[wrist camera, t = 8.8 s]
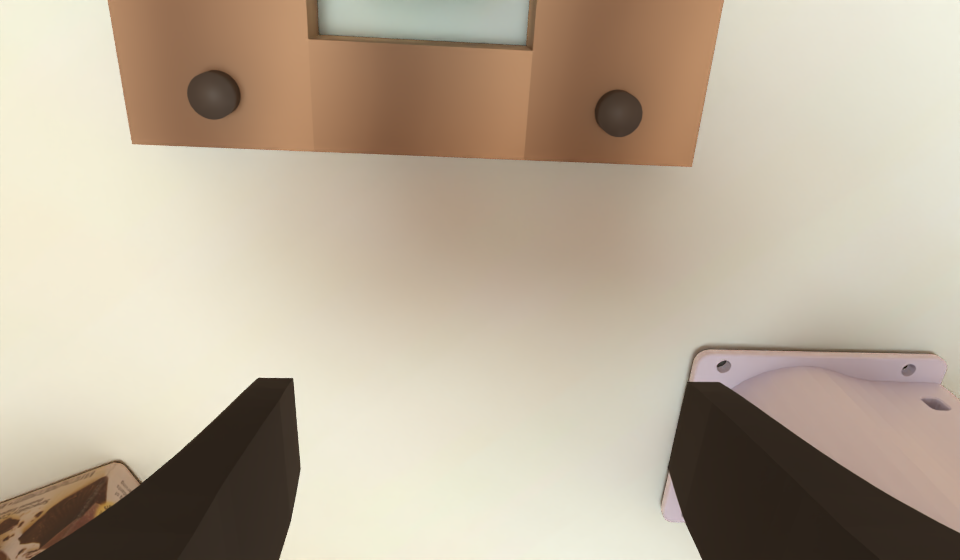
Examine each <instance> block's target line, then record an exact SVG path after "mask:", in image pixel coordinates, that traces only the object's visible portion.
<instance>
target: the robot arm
mask: <svg viewBox="0 0 960 560" xmlns="http://www.w3.org/2000/svg"><path fill="white" fill-rule="evenodd" d="M725 360H726V361H727V362H726V363H725V365H723V366H721V367H717V365H718V363H720V362H721V361H725ZM906 365H908V366H907V368H905V369H904V370H902V369H903V368H904V367H905V366H906ZM946 370H947V363H946V362H945V361H944V360H943V359H942V358H940V357H939V356H938V355H934V354H900V353H852V352H805V351H758V350H710V349H709V350H704V351H702V352H700V353H699V354H698V355H697V356H696V357H695V359H694V361H693V366H692V370H691V375H690V379H689V382H687V386H686V391H685V395H684V399H683V404H682V408H681V413H680V417H679V421H678V426H677V430H676V435H675V439H674V443H673V448H672V452H671V457H670V461H669V465H668V470H669V473H668V478H667V482H666V487H665V491H664V496H663V500H662V505H661V512H662V514H663V517H664V518H665V520H667V521H669V522H685V523H686V525H687V527H688V529H689V532H690V534H691V536H692V538H693V540H694V542H695V545H696V547H697V549H698V551H699V553H700V556H701V558H702V560H960V400H959V399H958V398H957V397H956V396H955V395H953V394H952V393H951V392H950V391H948V390H947V389H946V388H945V387H943V386H942V385H941V382H942V380H943V377H944V375H945V373H946ZM300 469H301V468H300V456H299V444H298V432H297V419H296V407H295V395H294V383H293V378H258V379H256V380H255V381H254V382H253V383H252V384H251V385H250V386H249V387H248V388H247V389H246V390H244V391H243V392H242V393H241V394H240V395H239V396H238V397H237V398H236V399H235V400H234V401H233V402H232V403H231V404H230V405H229V406H228V407H227V408H226V409H225V410H224V411H223V412H222V413H221V414H220V415H219V416H218V417H217V418H216V419H214V420H213V421H212V422H211V423H210V424H209V425H208V426H207V427H206V428H205V429H204V430H203V431H202V432H201V433H199V434H198V435H197V436H196V437H195V438H194V439H193V440H192V441H191V442H190V443H188V444H187V445H186V446H185V447H184V448H183V449H182V450H181V451H180V452H179V453H177V454H176V455H175V456H174V457H173V458H172V459H170V460H169V461H168V462H167V463H166V464H164V465H163V466H162V467H161V468H160V469H158V470H157V471H156V472H155V473H154V474H152V475H151V476H150V477H149V478H148V479H146V480H145V481H144V482H143V483H142V484H140V485H139V486H138V487H136V488H135V489H134V490H132V491H131V492H130V493H129V494H127V495H126V496H124V497H123V498H122V499H120V500H119V501H118V502H116V503H115V504H114V505H112V506H111V507H109V508H108V509H107V510H105V511H104V512H102V513H101V514H99V515H98V516H96V517H95V518H94V519H92V520H91V521H89V522H88V523H86V524H85V525H84V526H82V527H81V528H79V529H77V530H76V531H74V532H73V533H71V534H70V535H68V536H67V537H65V538H63V539H62V540H60V541H58V542H57V543H55V544H54V545H52V546H50V547H49V548H47V549H45V550H44V551H42V552H40V553H39V554H37V555H36V556H34V557H32V558H31V559H29V560H279V558H280V554H281V551H282V548H283V545H284V542H285V538H286V535H287V532H288V529H289V525H290V522H291V518H292V513H293V507H294V502H295V497H296V492H297V486H298V480H299V475H300Z"/></svg>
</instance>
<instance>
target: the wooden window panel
mask: <svg viewBox="0 0 960 560" xmlns="http://www.w3.org/2000/svg"><path fill="white" fill-rule="evenodd" d="M723 2H724V0H530V2H529V15H528V27H527V40H526V46H523V45H504V44H485V43H465V42H446V41H427V40H408V39H389V38H370V37H351V36H332V35H319V29H318V8H317V0H108V5H109V11H110V17H111V22H112V28H113V34H114V40H115V46H116V52H117V58H118V63H119V69H120V75H121V81H122V87H123V93H124V99H125V105H126V110H127V116H128V122H129V128H130V134H131V140H132V144H142V145H167V146H191V147H216V148H240V149H265V150H290V151H314V152H339V153H364V154H388V155H413V156H438V157H462V158H487V159H512V160H536V161H561V162H586V163H610V164H635V165H659V166H684V167H692V163H693V158H694V152H695V147H696V142H697V137H698V132H699V127H700V121H701V116H702V111H703V106H704V101H705V95H706V90H707V85H708V80H709V75H710V69H711V64H712V59H713V54H714V49H715V44H716V38H717V33H718V28H719V23H720V18H721V12H722V7H723Z"/></svg>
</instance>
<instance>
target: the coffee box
mask: <svg viewBox="0 0 960 560" xmlns="http://www.w3.org/2000/svg"><path fill="white" fill-rule="evenodd" d="M139 485H140V484H139V483H138V481H137V480H136V479H135V478H134V476H133V475H132V474H131V473H130V471H129V470H128V469H127V468H126V466H125V465H123V464H121V463H116V462H113V463H111V464H108V465H105V466H102V467H99V468H96V469H93V470H91V471H88V472H85V473H83V474H80V475H77V476H75V477H72V478H69V479H67V480H64V481H61V482H58V483H56V484H53V485H50V486H47V487H45V488H42V489H39V490H37V491H34V492H31V493H28V494H26V495H23V496H20V497H17V498H15V499H12V500H9V501H6V502H4V503H1V504H0V560H29V559H31V558H32V557H34V556H36V555H37V554H39V553H40V552H42V551H44V550H45V549H47V548H49V547H50V546H52V545H54V544H55V543H57V542H58V541H60V540H62V539H63V538H65V537H67V536H68V535H70V534H71V533H73V532H74V531H76V530H77V529H79V528H81V527H82V526H84V525H85V524H86V523H88V522H89V521H91V520H92V519H94V518H95V517H96V516H98V515H99V514H101V513H102V512H104V511H105V510H107V509H108V508H109V507H111V506H112V505H114V504H115V503H116V502H118V501H119V500H120V499H122V498H123V497H124V496H126V495H127V494H129V493H130V492H131V491H132V490H134V489H135V488H136V487H138V486H139Z"/></svg>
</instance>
